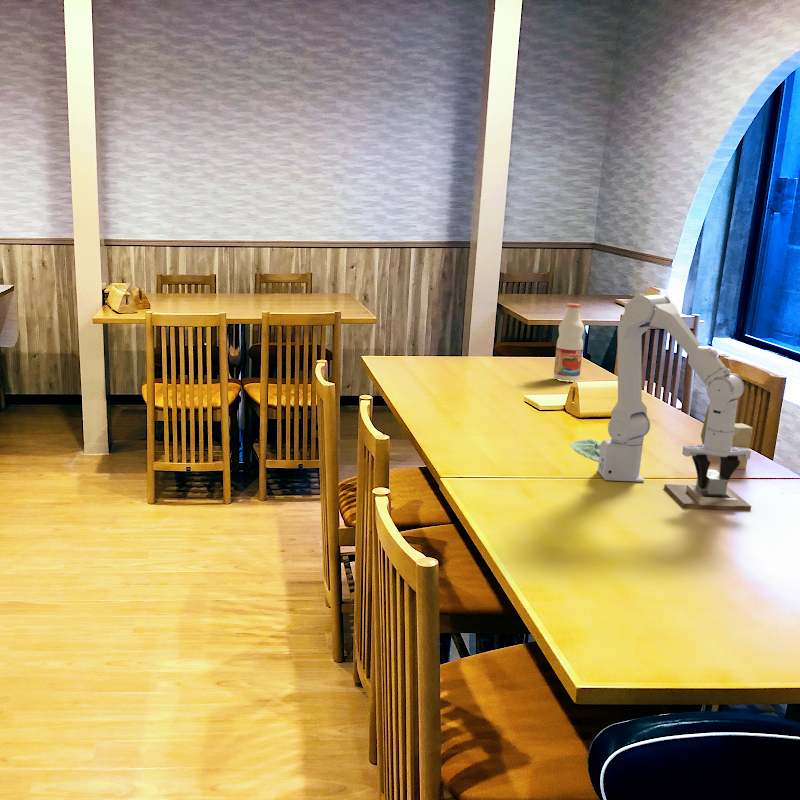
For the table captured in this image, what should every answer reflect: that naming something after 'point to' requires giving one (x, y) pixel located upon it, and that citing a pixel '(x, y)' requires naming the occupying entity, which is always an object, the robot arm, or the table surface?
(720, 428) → the robot arm
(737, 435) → the box
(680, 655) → the table surface
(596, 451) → the cloth
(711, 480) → the block
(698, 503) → the holder
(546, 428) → the table surface
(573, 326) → the fruit juice
